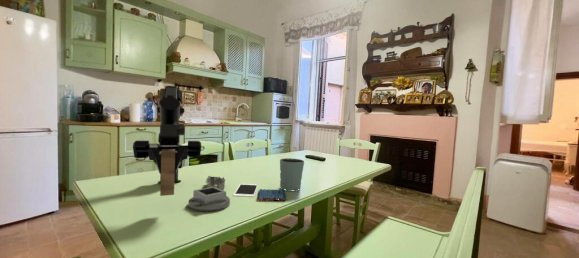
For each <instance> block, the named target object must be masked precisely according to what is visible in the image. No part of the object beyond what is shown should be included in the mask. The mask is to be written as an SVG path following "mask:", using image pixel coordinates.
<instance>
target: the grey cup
mask: <svg viewBox="0 0 579 258" xmlns="http://www.w3.org/2000/svg"><path fill="white" fill-rule="evenodd" d="M279 164H280V165H279V170H280V172H279V174H280V175H279V177H280V181H279V188H280V187H281V188H282V189H286V190H298V189H300V190H301V188H302V187H301V185H302V179H303V171H304V164H305V161H304V160H303V159H298V158H292V157H291V158H289V157H287V158H284V157H283V158H281V159H279ZM281 188H280V189H281ZM282 189H281V190H282ZM298 191H299V190H298Z"/></svg>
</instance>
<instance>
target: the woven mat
mask: <svg viewBox="0 0 579 258" xmlns="http://www.w3.org/2000/svg"><path fill="white" fill-rule="evenodd" d="M286 195H287V194H286V191H285V190H282V189H281V188H280V189H262V188H260V189H259V190H258V191H257V195H256V196H257V197H256V200H257V201H258V200H259V201H261V202H262V200H263V201H264V200H266V202H269V201H270V200H272V201H273V200H278V199H279V200H281V201H283V200H285V201H286V200H287V199H286V197H287V196H286ZM268 200H269V201H268Z"/></svg>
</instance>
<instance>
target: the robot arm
mask: <svg viewBox="0 0 579 258" xmlns="http://www.w3.org/2000/svg"><path fill="white" fill-rule="evenodd" d="M182 103H183V91H181V90H180V89H179V86H177V85H165V86H164V88H163V89H161V90H160V100H159V104H158V105H157V115H159V117H160V124H159V125H160V126H159V133H158V143H150V140H135V141H134V142H132V150H133V155H134V156H133V157H134V158H135V159H147V158H148V159H149V160H150V161H153V163H154V164H155V166H156V168H157V170H158V172H159V174H160V176H159V177H160V179H159V181H157V184H161V151H162V149H175V178H174V184H177V183H181V182H182V180H180V179H179V169H182V168H183V165H184V164H183V161H184V160H188V157H189V158H199V157H200V156H201V151H202V142H201V141H200V140H187V145H185V144H184V145H182V144H180V136H185V132H186V131H185V129H186V127H185V126H186V125H185V123H180V119H181V117H183V114H185V108H184V107H183V106H182V105H181V104H182Z"/></svg>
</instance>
